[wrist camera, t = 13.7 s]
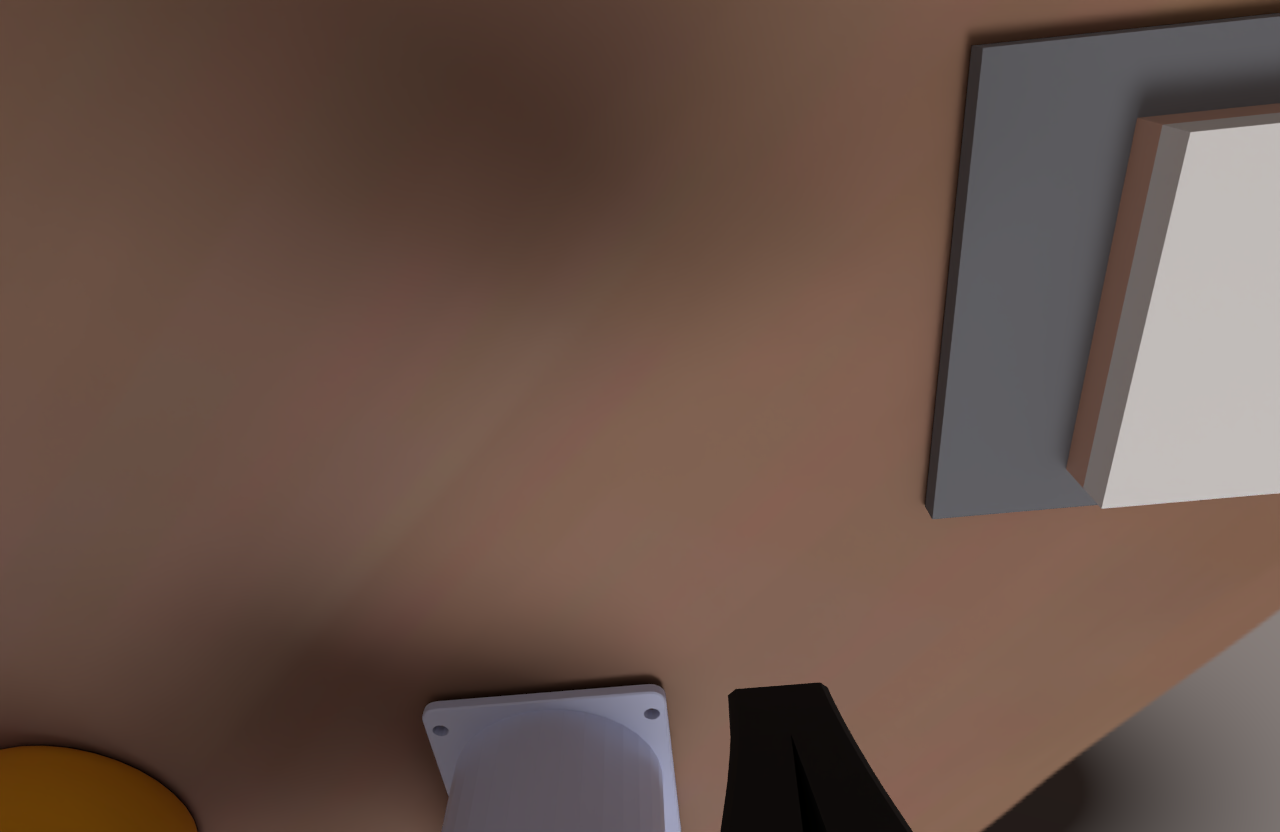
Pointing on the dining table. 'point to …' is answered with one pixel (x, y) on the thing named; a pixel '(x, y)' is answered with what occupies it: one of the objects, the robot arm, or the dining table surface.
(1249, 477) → the tile
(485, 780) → the robot arm
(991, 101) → the mat
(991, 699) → the dining table surface
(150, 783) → the beer bottle
